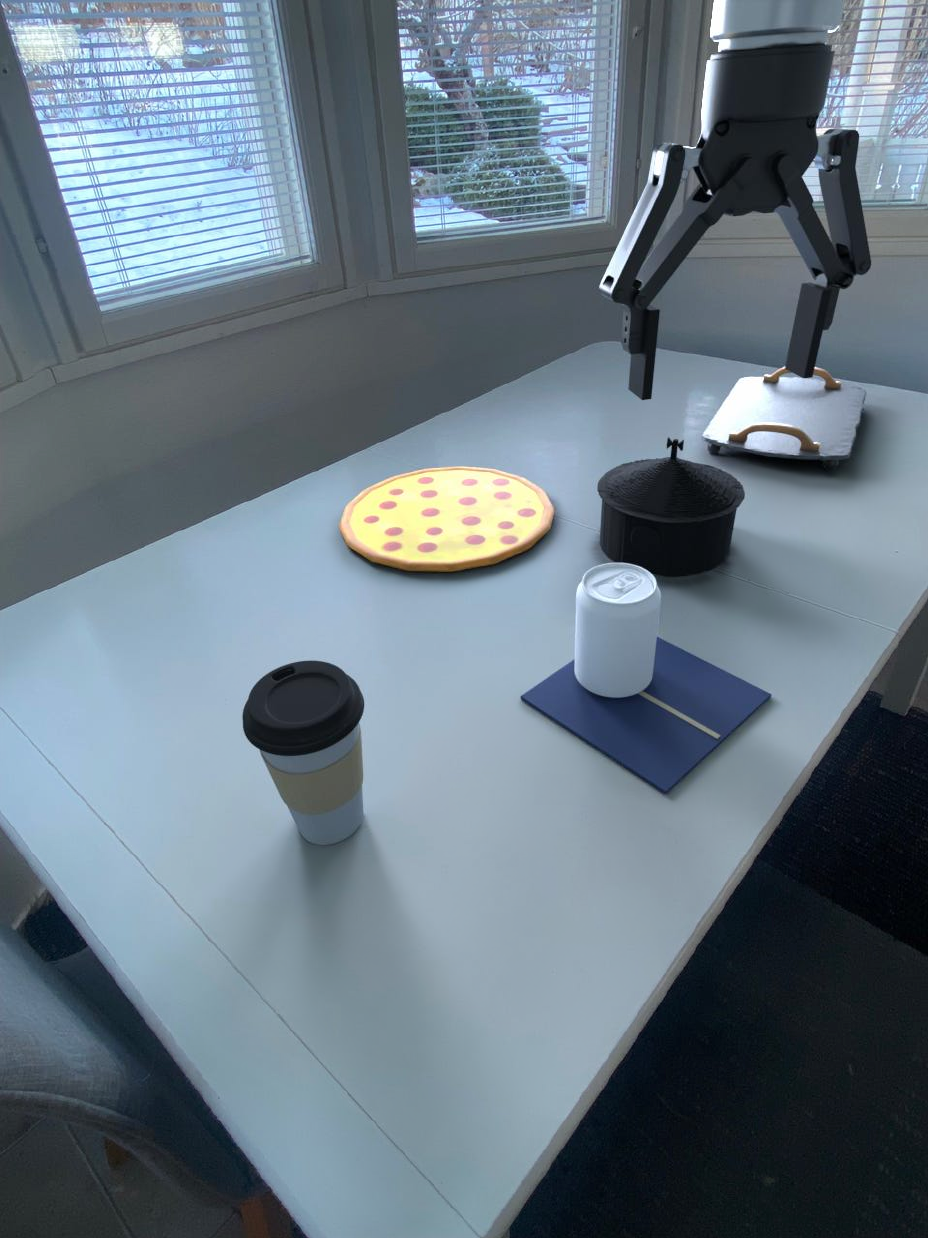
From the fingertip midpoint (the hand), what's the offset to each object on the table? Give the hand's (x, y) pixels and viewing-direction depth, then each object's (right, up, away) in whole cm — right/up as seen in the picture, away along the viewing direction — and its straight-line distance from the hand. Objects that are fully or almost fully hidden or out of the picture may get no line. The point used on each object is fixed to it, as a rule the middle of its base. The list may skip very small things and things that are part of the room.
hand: (720, 383), depth 58 cm
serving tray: (+37, +15, +72) cm, 82 cm away
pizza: (-23, -3, +51) cm, 56 cm away
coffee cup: (-32, -37, +7) cm, 49 cm away
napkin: (-2, -27, +17) cm, 32 cm away
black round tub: (+7, -9, +42) cm, 43 cm away
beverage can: (-5, -25, +20) cm, 32 cm away
